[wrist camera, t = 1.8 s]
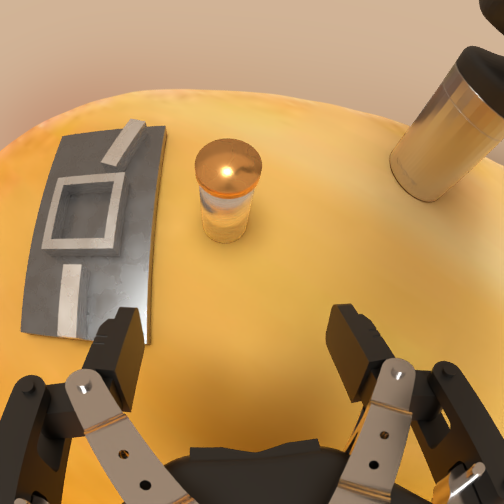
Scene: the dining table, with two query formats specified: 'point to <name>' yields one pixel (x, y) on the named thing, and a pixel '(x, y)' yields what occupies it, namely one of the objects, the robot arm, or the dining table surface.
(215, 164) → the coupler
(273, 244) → the dining table surface
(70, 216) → the coupling base
